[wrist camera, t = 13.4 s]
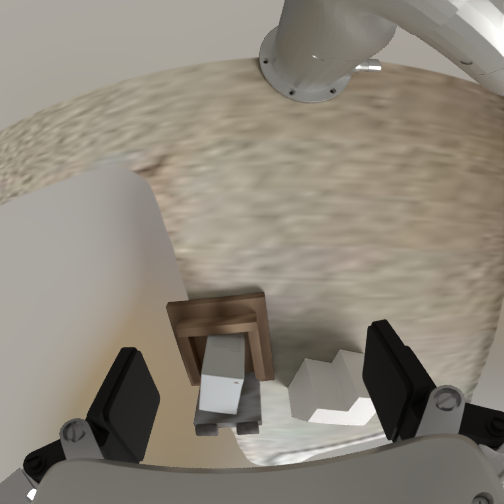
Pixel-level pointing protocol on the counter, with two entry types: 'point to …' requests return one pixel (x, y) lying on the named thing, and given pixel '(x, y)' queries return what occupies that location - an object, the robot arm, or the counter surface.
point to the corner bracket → (331, 391)
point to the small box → (222, 373)
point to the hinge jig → (255, 353)
